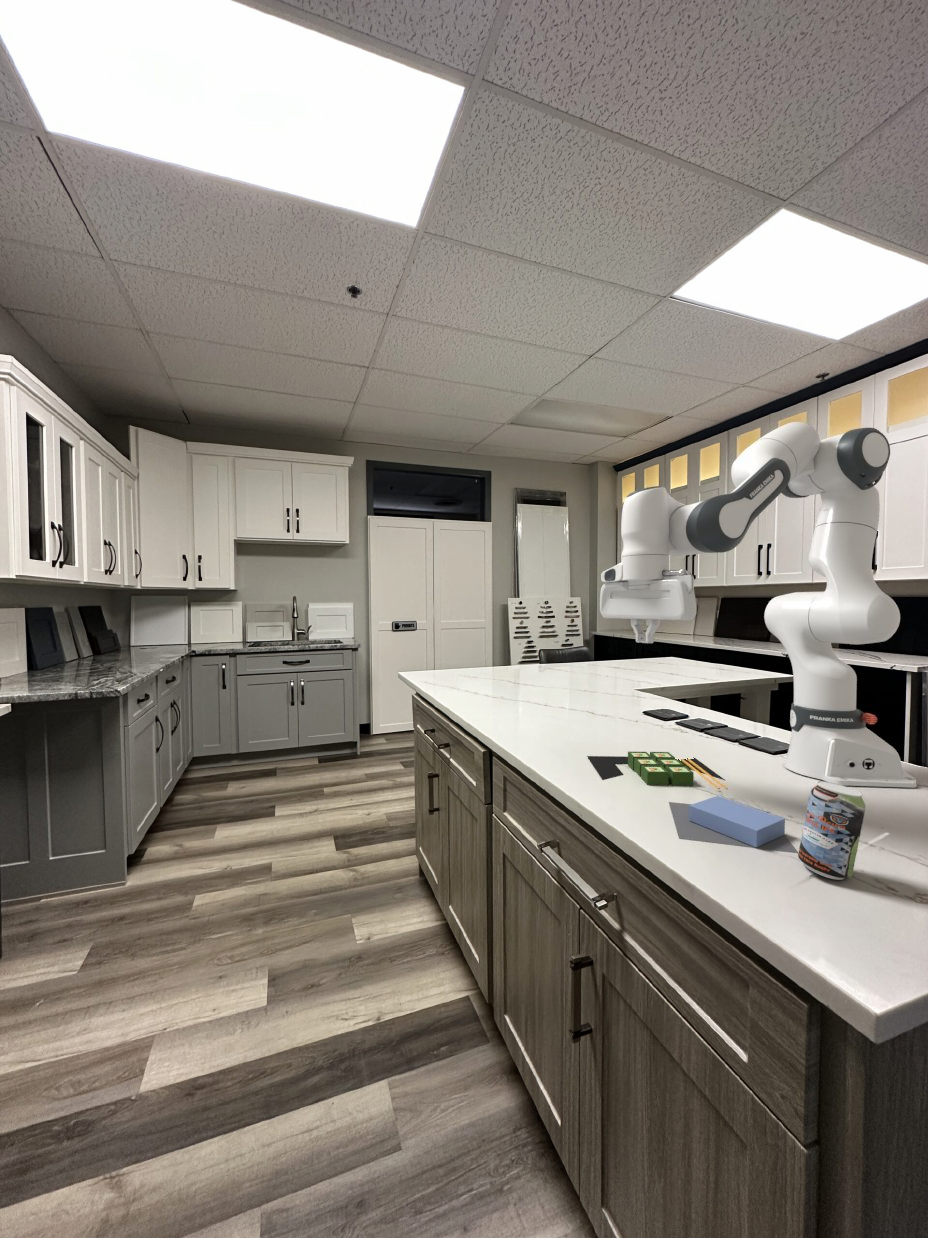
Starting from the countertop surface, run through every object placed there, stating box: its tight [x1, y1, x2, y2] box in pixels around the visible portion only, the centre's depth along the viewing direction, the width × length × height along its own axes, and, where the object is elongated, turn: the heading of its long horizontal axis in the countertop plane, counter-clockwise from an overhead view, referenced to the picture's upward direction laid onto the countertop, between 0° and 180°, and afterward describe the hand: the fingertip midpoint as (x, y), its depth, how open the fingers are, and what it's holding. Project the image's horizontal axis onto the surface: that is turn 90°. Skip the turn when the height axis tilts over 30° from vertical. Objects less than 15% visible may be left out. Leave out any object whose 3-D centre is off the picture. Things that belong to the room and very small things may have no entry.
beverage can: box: [797, 780, 866, 881], centre depth 68 cm, size 6×7×12 cm
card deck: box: [689, 795, 786, 847], centre depth 81 cm, size 3×8×11 cm
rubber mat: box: [668, 801, 799, 854], centre depth 83 cm, size 16×15×1 cm
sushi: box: [586, 751, 728, 790], centre depth 108 cm, size 25×25×4 cm
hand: (644, 642), depth 99 cm, fingers closed
